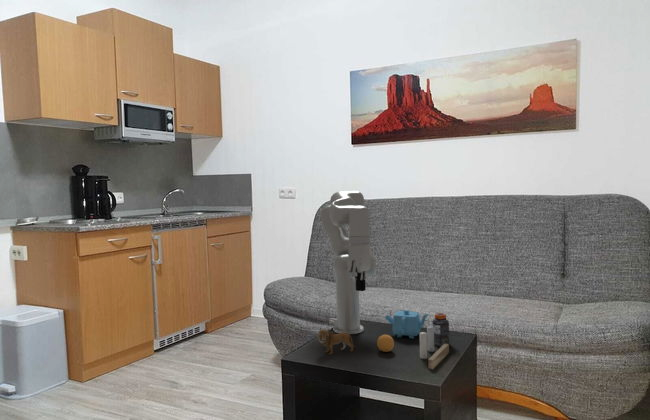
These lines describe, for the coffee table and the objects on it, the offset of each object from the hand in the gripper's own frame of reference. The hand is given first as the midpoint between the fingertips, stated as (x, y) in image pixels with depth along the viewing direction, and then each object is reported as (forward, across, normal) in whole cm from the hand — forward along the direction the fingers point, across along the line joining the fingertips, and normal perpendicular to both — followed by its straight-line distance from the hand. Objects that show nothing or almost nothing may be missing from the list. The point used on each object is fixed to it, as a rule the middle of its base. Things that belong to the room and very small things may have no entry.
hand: (360, 290), depth 174 cm
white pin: (+21, 0, +23) cm, 32 cm away
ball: (+18, 0, +9) cm, 21 cm away
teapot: (+22, -22, +9) cm, 32 cm away
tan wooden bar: (+21, 0, +29) cm, 36 cm away
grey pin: (+21, -8, +23) cm, 33 cm away
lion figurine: (+22, +8, -6) cm, 24 cm away
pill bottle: (+22, -17, +24) cm, 37 cm away
